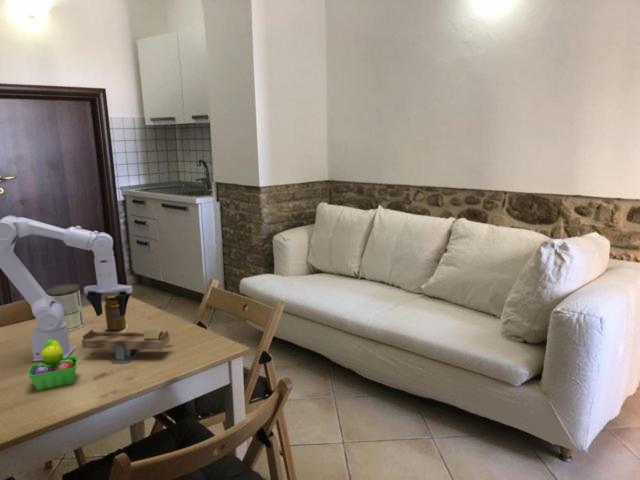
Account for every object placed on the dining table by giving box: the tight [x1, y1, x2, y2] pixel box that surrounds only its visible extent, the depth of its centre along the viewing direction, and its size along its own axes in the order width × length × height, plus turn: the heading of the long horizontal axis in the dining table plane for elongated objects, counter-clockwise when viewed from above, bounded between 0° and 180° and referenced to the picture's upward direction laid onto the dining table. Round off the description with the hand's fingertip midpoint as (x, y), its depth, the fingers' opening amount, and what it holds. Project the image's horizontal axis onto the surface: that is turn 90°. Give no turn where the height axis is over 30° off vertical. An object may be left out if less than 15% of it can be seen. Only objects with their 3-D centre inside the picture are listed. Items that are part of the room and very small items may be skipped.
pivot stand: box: [111, 344, 142, 364], centre depth 150 cm, size 5×10×5 cm, turn 175°
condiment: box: [103, 293, 130, 332], centre depth 170 cm, size 7×8×12 cm
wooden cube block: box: [142, 324, 165, 340], centre depth 148 cm, size 4×4×4 cm
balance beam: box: [81, 329, 171, 351], centre depth 150 cm, size 24×7×4 cm, turn 85°
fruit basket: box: [27, 339, 78, 391], centre depth 135 cm, size 11×9×11 cm
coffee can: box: [45, 283, 85, 332], centre depth 174 cm, size 10×10×14 cm
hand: (111, 314), depth 156 cm, fingers open, 7 cm apart
